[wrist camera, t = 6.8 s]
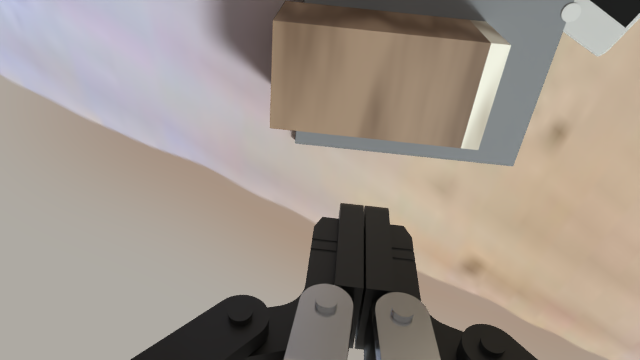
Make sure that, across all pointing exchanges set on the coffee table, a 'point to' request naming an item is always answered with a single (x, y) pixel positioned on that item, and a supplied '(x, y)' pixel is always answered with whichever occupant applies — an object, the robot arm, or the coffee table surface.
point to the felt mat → (515, 84)
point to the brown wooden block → (384, 74)
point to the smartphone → (599, 22)
